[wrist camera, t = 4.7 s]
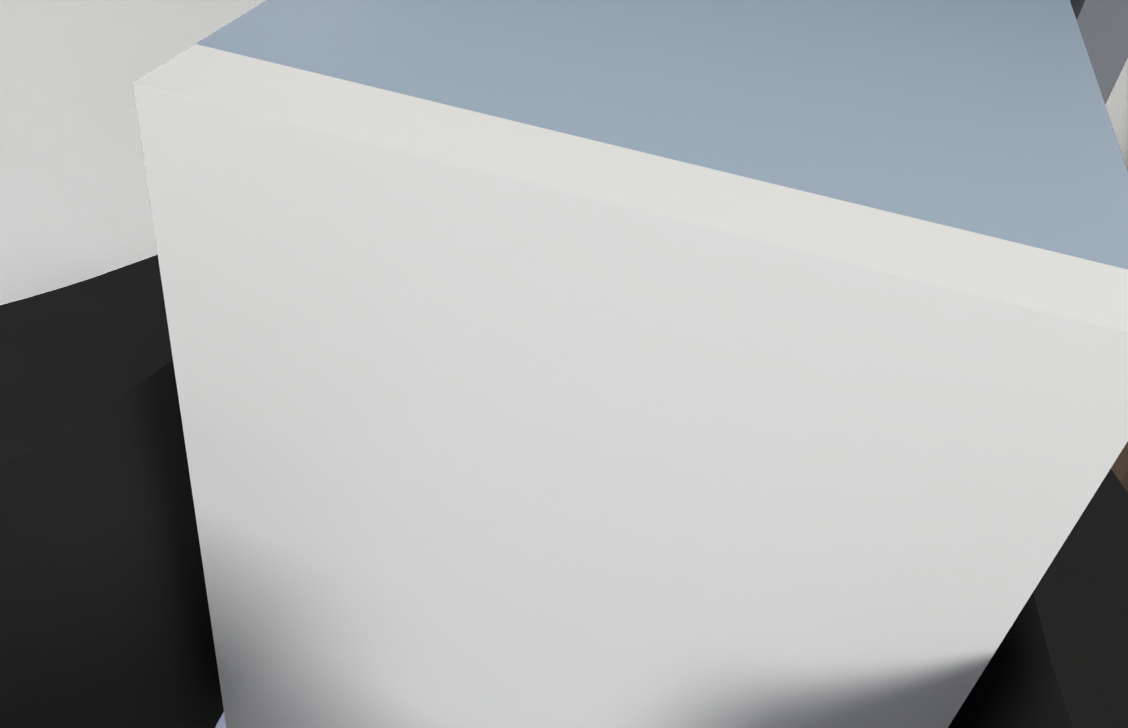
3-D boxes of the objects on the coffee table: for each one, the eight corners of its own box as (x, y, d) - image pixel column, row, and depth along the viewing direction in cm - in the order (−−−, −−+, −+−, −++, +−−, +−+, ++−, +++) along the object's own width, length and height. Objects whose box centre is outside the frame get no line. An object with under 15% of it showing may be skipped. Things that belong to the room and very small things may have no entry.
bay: (441, 383, 16) (359, 514, 14) (489, -421, 10) (355, -423, 8) (897, 514, 15) (890, 678, 13) (1273, -292, 9) (1389, -250, 7)
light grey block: (480, 422, 13) (244, 857, 9) (537, -166, 9) (133, 82, 4) (815, 519, 13) (750, 1042, 8) (1048, -65, 8) (1186, 345, 4)
